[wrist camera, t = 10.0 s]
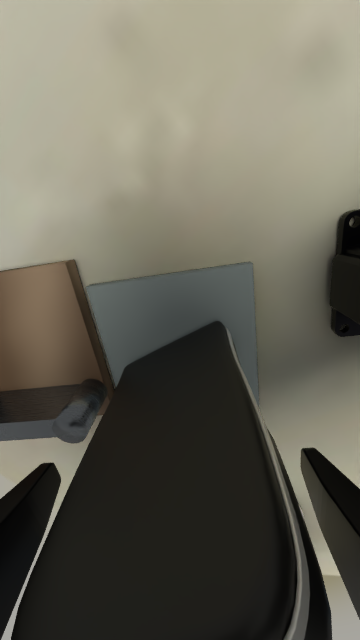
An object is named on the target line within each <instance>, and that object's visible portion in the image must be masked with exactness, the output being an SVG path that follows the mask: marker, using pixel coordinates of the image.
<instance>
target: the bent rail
mask: <svg viewBox="0 0 360 640" xmlns="http://www.w3.org/2000/svg"><path fill="white" fill-rule="evenodd" d="M107 394H108V390H107V388H106V386H105V385H104V384H103V383H102V382H101V381H99V380H97V379H86V380H84V381H83V382H82V383H81V384H72V385H62V386H51V387H41V388H31V389H20V390H10V391H0V441H8V440H23V439H37V438H51V437H58V438H59V439H61V440H63V441H65V442H68V443H79V442H81V441H83V440H84V439H85V438H86V436H87V434H88V432H89V430H90V428H91V426H92V424H93V422H94V420H95V418H96V416H97V414H98V412H99V410H100V409H101V407H102V405H103V403H104V401H105V399H106V397H107Z"/></svg>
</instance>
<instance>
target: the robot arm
mask: <svg viewBox="0 0 360 640" xmlns="http://www.w3.org/2000/svg"><path fill="white" fill-rule="evenodd" d="M352 217H355V219H356V222H355V224H354V225H353V226H352V227H351V226H350V225H349V222H350V219H351V218H352ZM330 306H331V307H333V309H332V322H331V329H332V331H333V332H334V333H335V334H337V335H338V336H341V337H345V336H355V335H360V209H358V210H352V211H348V212H346V213H345V214H344V215H343V216H342V217H341V219H340V222H339V231H338V244H337V255H336V257H335V258H334V259H333V265H332V279H331V293H330ZM344 324H345V327H344V328H343V329H341V330H340V327H341V326H342V325H344ZM301 471H302V474H303V477H304V481H305V484H306V487H307V490H308V493H309V496H310V499H311V502H312V505H313V508H314V511H315V514H316V517H317V520H318V523H319V526H320V528H321V531H322V533H323V536H324V538H325V540H326V543H327V545H328V547H329V550H330V552H331V554H332V557H333V559H334V561H335V564H336V566H337V568H338V570H339V573H340V575H341V577H342V580H343V582H344V584H345V586H346V589H347V591H348V594H349V596H350V598H351V601H352V603H353V605H354V608H355V610H356V612H357V615H358V617H359V619H360V489H359V488H358V487H357V486H356V485H355V484H354V483H353V482H352V481H350V480H349V479H348V478H347V477H346V476H345V475H344V474H343V473H342V472H341V471H340V470H338V469H337V468H336V467H335V466H334V465H333V464H332V463H331V462H330V461H329V460H327V459H326V458H325V457H324V456H323V455H322V454H321V453H320V452H319V451H318V450H316V449H315V448H303V449H302V450H301ZM60 483H61V477H60V474H59V472H58V470H57V468H56V466H55V464H54V463H43V464H41V465H39V466H38V467H37V468H36V469H35V470H34V471H32V472H31V473H30V474H29V475H28V476H27V477H25V478H24V479H23V480H22V481H21V482H20V483H19V484H17V485H16V486H15V487H14V488H13V489H12V490H11V491H9V492H8V493H7V494H6V495H5V496H3V497H2V498H1V499H0V640H1V638H2V636H3V633H4V631H5V628H6V626H7V623H8V621H9V618H10V616H11V614H12V611H13V609H14V606H15V604H16V601H17V599H18V597H19V594H20V592H21V589H22V587H23V584H24V582H25V580H26V577H27V575H28V572H29V570H30V567H31V565H32V562H33V560H34V558H35V555H36V553H37V550H38V548H39V545H40V543H41V541H42V538H43V535H44V533H45V530H46V527H47V524H48V521H49V518H50V515H51V512H52V509H53V506H54V503H55V499H56V496H57V493H58V490H59V487H60Z"/></svg>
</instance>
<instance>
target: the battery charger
mask: <svg viewBox="0 0 360 640" xmlns="http://www.w3.org/2000/svg"><path fill="white" fill-rule="evenodd" d="M11 640H332V625H331V610H330V606H329V602H328V598H327V594H326V589H325V585H324V581H323V577H322V573H321V569H320V566H319V563H318V560H317V557H316V554H315V551H314V548H313V545H312V542H311V539H310V536H309V533H308V530H307V527H306V525H305V522H304V519H303V516H302V513H301V510H300V507H299V504H298V501H297V499H296V496H295V493H294V490H293V487H292V485H291V482H290V479H289V477H288V474H287V471H286V469H285V466H284V464H283V461H282V459H281V456H280V453H279V451H278V449H277V446H276V444H275V441H274V439H273V437H272V436H271V434H270V432H269V431H268V429H267V427H266V425H265V422H264V420H263V417H262V414H261V412H260V410H259V407H258V405H257V402H256V400H255V398H254V395H253V393H252V390H251V388H250V386H249V384H248V381H247V379H246V377H245V374H244V372H243V370H242V368H241V365H240V362H239V359H238V355H237V352H236V348H235V344H234V343H233V341H232V338H231V334H230V332H229V330H228V329H227V328H226V327H225V326H224V325H223V324H222V322H220V321H215V322H212V323H210V324H208V325H206V326H204V327H202V328H200V329H198V330H196V331H194V332H192V333H190V334H188V335H186V336H184V337H182V338H180V339H178V340H176V341H174V342H172V343H170V344H168V345H166V346H164V347H162V348H160V349H158V350H156V351H154V352H152V353H150V354H148V355H146V356H144V357H142V358H140V359H138V360H136V361H134V362H132V363H131V364H129V365H127V366H126V367H125V368H124V370H123V373H122V375H121V378H120V380H119V382H118V385H117V387H116V389H115V391H114V394H113V396H112V398H111V400H110V403H109V405H108V407H107V409H106V411H105V413H104V415H103V417H102V419H101V421H100V423H99V425H98V427H97V429H96V431H95V433H94V435H93V437H92V439H91V441H90V443H89V446H88V448H87V450H86V452H85V454H84V456H83V458H82V460H81V462H80V464H79V467H78V469H77V471H76V473H75V475H74V477H73V480H72V482H71V484H70V486H69V488H68V490H67V493H66V495H65V497H64V499H63V502H62V504H61V506H60V508H59V511H58V513H57V515H56V517H55V520H54V522H53V525H52V527H51V529H50V531H49V533H48V536H47V538H46V540H45V543H44V545H43V547H42V550H41V552H40V554H39V557H38V559H37V561H36V564H35V566H34V568H33V571H32V573H31V575H30V578H29V581H28V583H27V586H26V589H25V591H24V594H23V597H22V599H21V602H20V605H19V607H18V611H17V616H16V620H15V624H14V628H13V632H12V636H11Z"/></svg>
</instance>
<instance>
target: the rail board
mask: <svg viewBox="0 0 360 640" xmlns="http://www.w3.org/2000/svg"><path fill="white" fill-rule="evenodd" d="M86 379H97V380H99V381H101V382H102V383H103V384H104V385H105V386H106V388H107V390H108V394H107V397H106V399H105V401H104V403H103V405H102V407H101V409H100V410H99V412H98V414H97V415H104V413H105V411H106V409H107V407H108V405H109V403H110V400H111V398H112V396H113V394H114V389H113V385H112V382H111V379H110V376H109V372H108V369H107V366H106V362H105V359H104V356H103V353H102V349H101V346H100V343H99V340H98V336H97V333H96V330H95V326H94V323H93V320H92V317H91V313H90V310H89V307H88V303H87V300H86V297H85V294H84V290H83V287H82V284H81V281H80V277H79V274H78V271H77V267H76V264H75V261H74V260H68V261H62V262H55V263H49V264H43V265H36V266H30V267H24V268H17V269H11V270H4V271H0V391H10V390H20V389H31V388H41V387H51V386H62V385H72V384H81V383H82V382H83V381H84V380H86Z"/></svg>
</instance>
